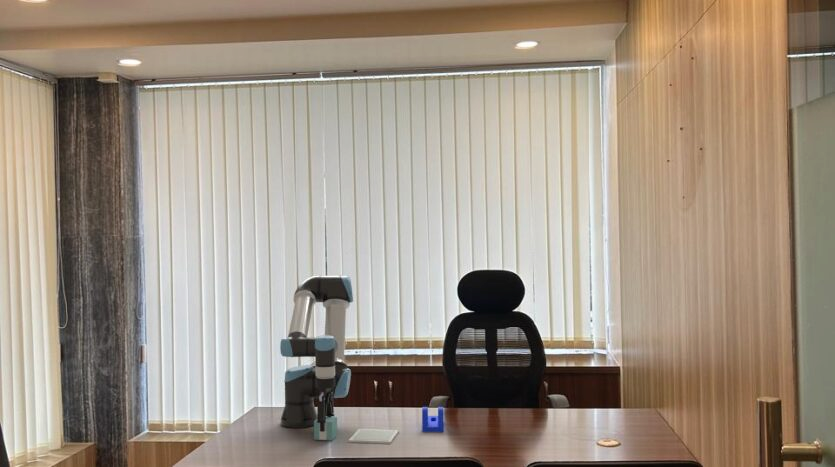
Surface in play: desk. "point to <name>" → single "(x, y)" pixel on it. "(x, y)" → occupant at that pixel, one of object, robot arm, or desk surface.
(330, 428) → the cube
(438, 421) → the bracket
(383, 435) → the white square tray
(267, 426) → the desk surface
